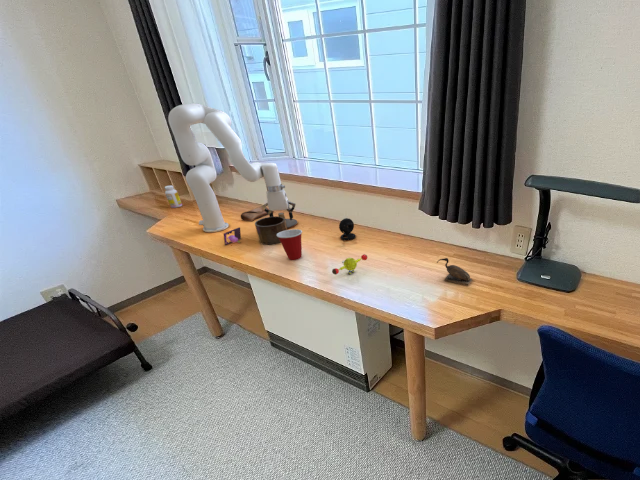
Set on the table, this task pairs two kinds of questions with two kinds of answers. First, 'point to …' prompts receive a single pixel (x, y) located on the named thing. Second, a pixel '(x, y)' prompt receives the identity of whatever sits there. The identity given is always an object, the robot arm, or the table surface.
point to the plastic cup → (291, 243)
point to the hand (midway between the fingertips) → (282, 220)
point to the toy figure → (349, 264)
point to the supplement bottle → (173, 197)
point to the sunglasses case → (254, 214)
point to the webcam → (347, 229)
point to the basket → (270, 229)
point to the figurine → (456, 274)
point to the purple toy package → (233, 238)
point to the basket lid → (288, 221)
